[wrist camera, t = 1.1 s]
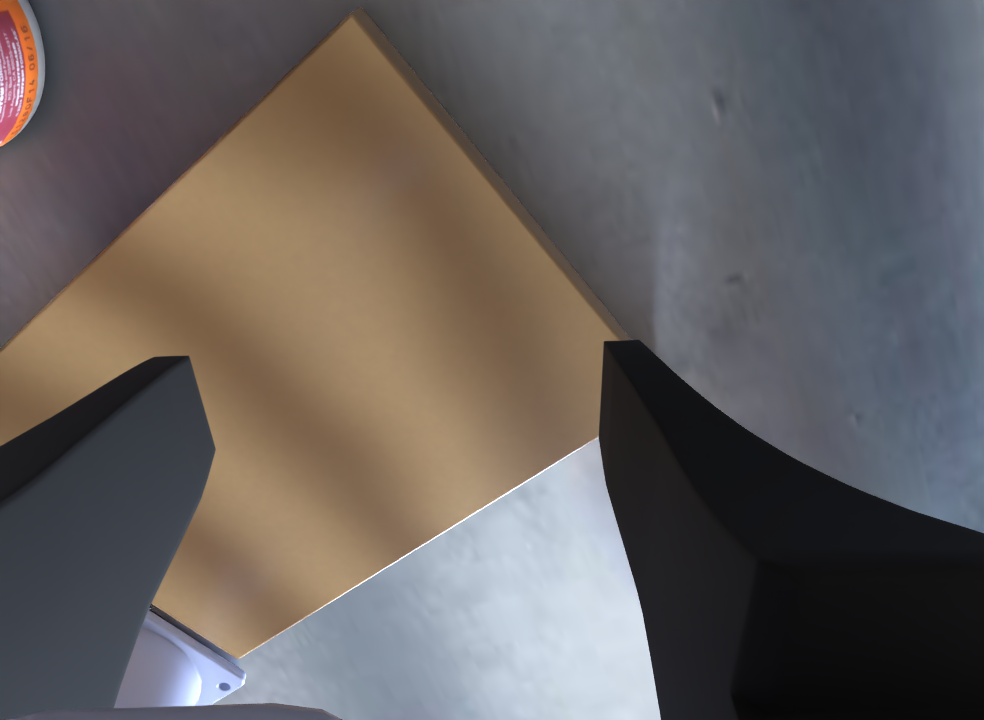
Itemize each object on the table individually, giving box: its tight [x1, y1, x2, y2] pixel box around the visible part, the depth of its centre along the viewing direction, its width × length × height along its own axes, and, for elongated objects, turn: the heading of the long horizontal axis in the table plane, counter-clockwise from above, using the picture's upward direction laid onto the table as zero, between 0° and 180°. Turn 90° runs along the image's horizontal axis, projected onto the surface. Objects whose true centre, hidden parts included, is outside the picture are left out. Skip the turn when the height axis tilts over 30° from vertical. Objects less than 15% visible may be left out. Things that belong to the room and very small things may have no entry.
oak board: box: [0, 7, 632, 659], centre depth 24 cm, size 20×14×2 cm
